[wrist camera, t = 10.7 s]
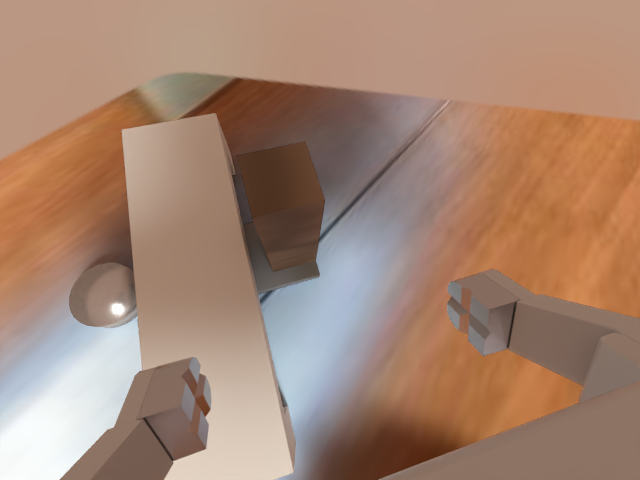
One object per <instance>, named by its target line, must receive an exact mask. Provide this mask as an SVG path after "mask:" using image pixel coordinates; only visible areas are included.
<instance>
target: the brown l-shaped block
mask: <svg viewBox="0 0 640 480" xmlns="http://www.w3.org/2000/svg"><path fill="white" fill-rule="evenodd" d="M237 157H238V161H239V165H240V170H241V174H242V178H243V182H244V186H245V190H246V195H247V199H248V203H249V207H250V211H251V215H252V219H253V222H250V223H246V224H243V229H244V233H245V238H246V242H247V247H248V251H249V256H250V260H251V265H252V269H253V274H254V278H255V283H256V288H257V292H258V294H261V293H264V292H268V291H272V290H275V289H279V288H282V287H286V286H289V285H293V284H297V283H300V282H304V281H307V280H311V279H314V278H318V277H319V275H320V273H319V270H318V267H317V263H316V255H317V249H318V242H319V236H320V230H321V223H322V217H323V210H324V204H325V199H324V196H323V193H322V190H321V187H320V184H319V181H318V178H317V175H316V172H315V169H314V166H313V163H312V160H311V157H310V154H309V151H308V148H307V145H306V142H300V143H296V144H291V145H286V146H281V147H276V148H271V149H267V150H262V151H257V152H252V153H247V154H242V155H238V156H237Z"/></svg>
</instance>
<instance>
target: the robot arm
mask: <svg viewBox="0 0 640 480" xmlns="http://www.w3.org/2000/svg"><path fill="white" fill-rule="evenodd" d="M448 293H449V294H450V295H451V296H452V297H451V298H450V300H449V301H448V303H447V312H448V315H449V318H450V320H451V322H452V323H453V325H454V326H455V327H456V328H457V329H458V330H459V331H461V332H464V333H466V334H468V341H469V342H470V343H471V344H472V345H473V346H474V347H475V348H476V349H477V350H478V351H479V352H480V353H481V354H482V355H483V356H485V355H488V354H492V353H495V352H498V351H502V350H505V349H508V348H509V350H510V351H512V352H514V353H516V354H518V355H520V356H522V357H524V358H526V359H528V360H530V361H533V362H535V363H537V364H539V365H541V366H543V367H545V368H547V369H549V370H551V371H553V372H555V373H557V374H559V375H562V376H564V377H566V378H568V379H570V380H572V381H574V382H576V383H578V384H580V385H582V386H583V387H582V390H581V393H580V396H579V403H578V404H575V405H572V406H570V407H567V408H565V409H562V410H559V411H557V412H554V413H551V414H549V415H546V416H544V417H541V418H538V419H536V420H533V421H530V422H528V423H525V424H522V425H520V426H517V427H515V428H512V429H509V430H507V431H504V432H501V433H499V434H496V435H494V436H491V437H488V438H486V439H483V440H480V441H478V442H475V443H472V444H470V445H467V446H465V447H462V448H459V449H457V450H454V451H451V452H449V453H446V454H443V455H441V456H438V457H436V458H433V459H430V460H428V461H425V462H422V463H420V464H417V465H415V466H412V467H409V468H407V469H404V470H401V471H399V472H396V473H394V474H391V475H388V476H386V477H383V478H380V479H378V480H640V318H635V317H631V316H627V315H623V314H619V313H615V312H611V311H607V310H603V309H599V308H595V307H591V306H587V305H582V304H578V303H574V302H570V301H566V300H562V299H558V298H554V297H550V296H546V295H542V294H540V295H537V296H536V295H535V294H533V293H532V292H530V291H529V290H527V289H525V288H524V287H522V286H521V285H519V284H518V283H516V282H515V281H513V280H511V279H510V278H508V277H507V276H505V275H504V274H502V273H501V272H499V271H497V270H494V269H490V270H487V271H484V272H480V273H478V274H475V275H471V276H468V277H465V278H461V279H458V280H455V281H451V282H450V283H449V285H448ZM200 367H201V365H200V363H199V362H198V360H197V358H196V357H190V358H187V359H183V360H179V361H175V362H172V363H168V364H164V365H160V366H158V367H154V368H151V369H147V370H143V371H140V372H139V373H137V374H136V375H135V377H134V380H133V382H132V384H131V387H130V389H129V392H128V394H127V397H126V399H125V402H124V404H123V406H122V409H121V411H120V414H119V416H118V419H117V421H116V424H115V426H114V428H111V429H108V430H107V431H106V432H105V433H104V434H103V435H102V436H101V437H100V438H99V439H98V440H97V441H96V442H95V443H94V444H93V445H92V447H91V448H90V449H89V450H88V451H87V452H86V453H85V454H84V455H83V456H82V457H81V458H80V459H79V460H78V461H77V462H76V463H75V464H74V465H73V466H72V467H71V468H70V470H69V471H68V472H67V473H66V474H65V475H64V476H63V477H62V478H61V479H60V480H164V479H165V477H166V475H167V474H168V472H169V470H170V469H171V467H172V465H173V464H174V463H173V461H175V460H178V459H181V458H183V457H186V456H189V455H192V454H194V453H197V452H200V451H203V450H205V449H206V446H207V438H208V429H209V424H208V422H207V420H206V418H205V417H206V416H207V414H208V413H209V411H210V410H211V389H210V385H209V382H208V380H207V377H206V376H205V375H202V374H200Z"/></svg>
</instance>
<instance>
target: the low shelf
mask: <svg viewBox="0 0 640 480" xmlns="http://www.w3.org/2000/svg"><path fill="white" fill-rule="evenodd" d="M122 139H123V151H124V163H125V174H126V186H127V198H128V209H129V221H130V233H131V244H132V256H133V268H134V280H135V291H136V303H137V315H138V326H139V338H140V350H141V362H142V371H143V370H147V369H151V368H154V367H158V366H160V365H164V364H168V363H172V362H175V361H179V360H183V359H187V358H190V357H196V358H197V360H198V362H199V363H200V365H201V367H200V374H202V375H205V376H206V377H207V380H208V382H209V385H210V389H211V410H210V411H209V413H208V414H207V416H206V417H205V418H206V420H207V422H208V424H209V429H208V438H207V446H206V449H205V450H203V451H200V452H197V453H194V454H192V455H189V456H186V457H183V458H181V459H178V460H175V461H173V463H174V464H173V465H172V467H171V469H170V470H169V472H168V474H167V475H166V477H165V479H164V480H275V479H277V478H280V477H283V476H286V475H288V474H291V473H294V462H295V448H296V440H295V436H294V431H293V427H292V422H291V418H290V414H289V409H288V406H285V407H283V405H282V401H281V396H280V392H279V387H278V383H277V378H276V374H275V369H274V365H273V360H272V356H271V351H270V347H269V342H268V337H267V333H266V328H265V324H264V319H263V315H262V310H261V306H260V301H259V297H258V292H257V288H256V283H255V278H254V274H253V269H252V265H251V260H250V256H249V251H248V247H247V242H246V238H245V233H244V229H243V224H242V219H241V215H240V210H239V206H238V201H237V197H236V192H235V188H234V183H233V179H232V175H235V170H234V165H233V161H232V156H231V153H230V150H229V147H228V145H227V142H226V139H225V137H224V134H223V131H222V129H221V126H220V123H219V121H218V118H217V115H216V113H212V114H207V115H201V116H196V117H190V118H184V119H179V120H173V121H168V122H162V123H157V124H151V125H145V126H140V127H134V128H129V129H123V130H122Z"/></svg>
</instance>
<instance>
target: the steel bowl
mask: <svg viewBox="0 0 640 480" xmlns="http://www.w3.org/2000/svg"><path fill="white" fill-rule="evenodd" d="M69 306H70V310H71V313H72V315H73V316H74V317H75V318H76V319H77V320H78V321H79V322H80V323H82V324H84V325H88V326H94V327H105V328H114V327H119V326H122V325H124V324H126V323H128V322H130V321H132V320H133V319H134V318H135V317H136V316H137V303H136V291H135V280H134V270H133V269H130V268H128V267H126V266H124V265H122V264H118V263H103V264H99V265H96V266H94V267H92V268H90V269H89V270H87V271H86V272H84V273H83V274H82V275H81V276H80V277H79V278H78V280H77V281H76V282H75V284H74V286H73V288H72V290H71V293H70V297H69Z"/></svg>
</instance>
